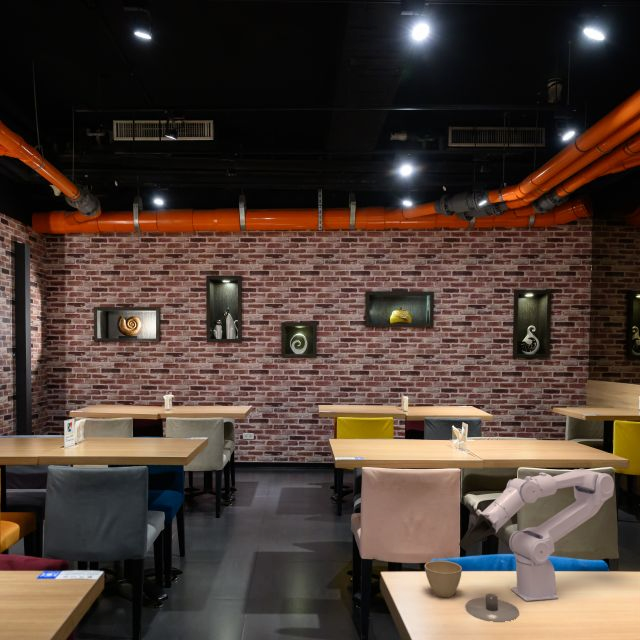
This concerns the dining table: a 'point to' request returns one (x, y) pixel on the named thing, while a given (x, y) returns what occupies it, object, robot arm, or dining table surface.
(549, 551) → the robot arm
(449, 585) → the flower pot
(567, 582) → the dining table surface
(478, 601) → the lid
